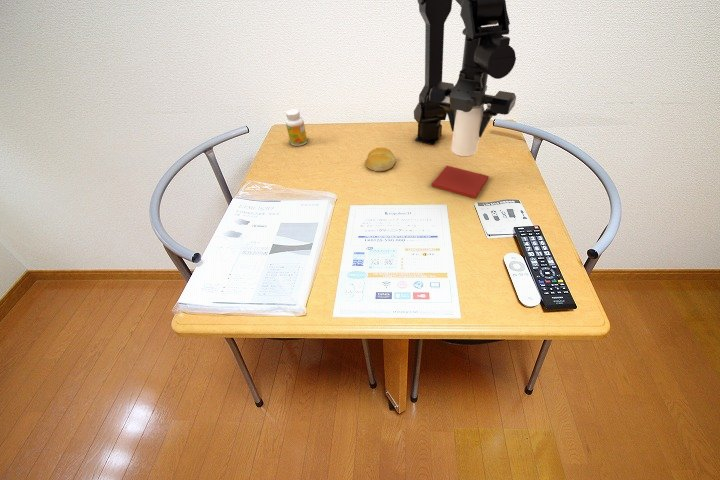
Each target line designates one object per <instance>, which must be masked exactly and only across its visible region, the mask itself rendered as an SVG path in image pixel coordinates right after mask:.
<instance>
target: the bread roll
mask: <svg viewBox="0 0 720 480" xmlns="http://www.w3.org/2000/svg"><path fill="white" fill-rule="evenodd" d="M395 163H396V156H395V153H394V152H393V151H392V150H390V149H388V148H387V147H383V146H382V147H376V148H373V149H371V151H369V152H368V154H367V157H366V159H365V160H364V165H365V167H366V168H368V169H369V170H371V171H375V172H384V171H387V170H389V169H391V168H393V167H394V166H395Z"/></svg>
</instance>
